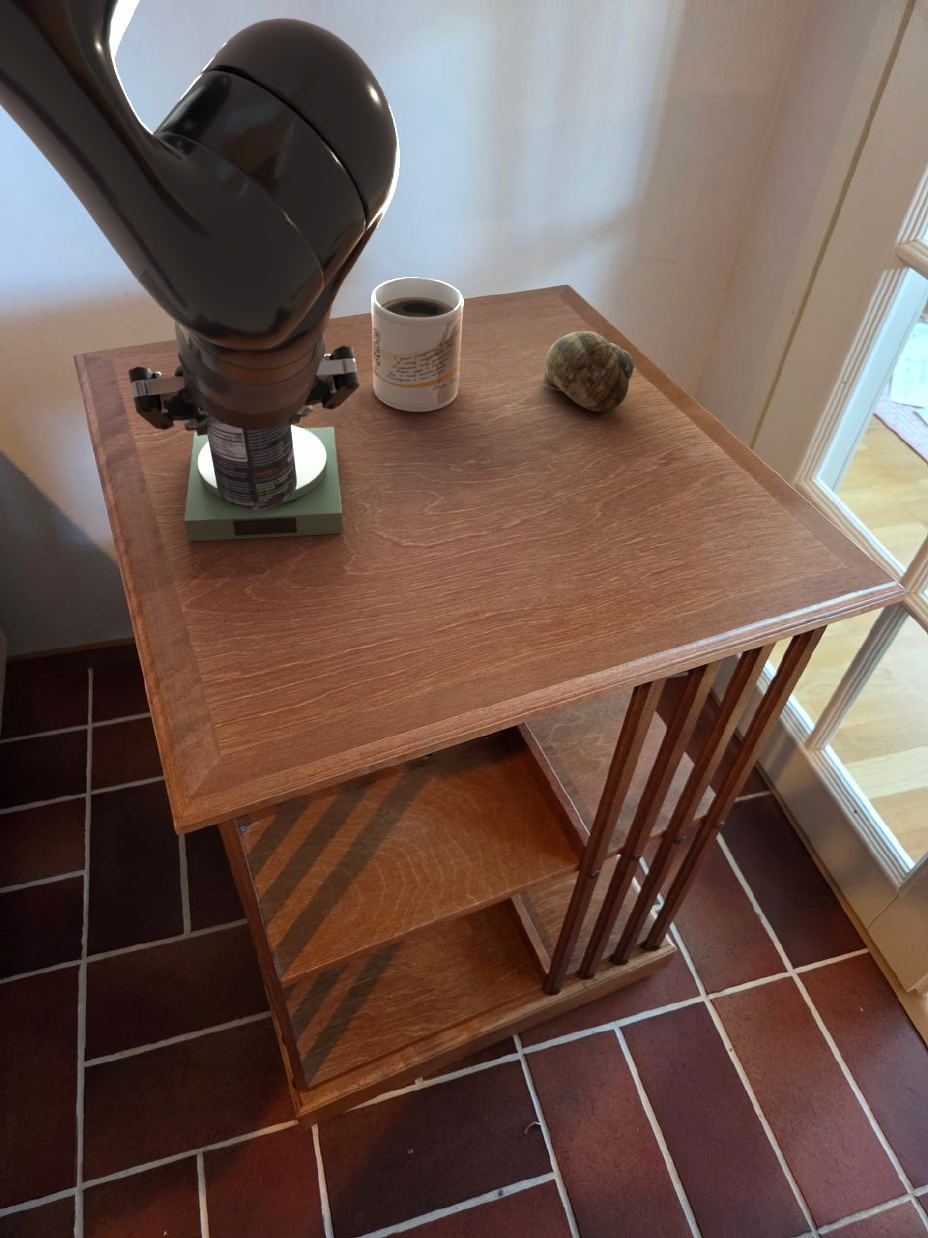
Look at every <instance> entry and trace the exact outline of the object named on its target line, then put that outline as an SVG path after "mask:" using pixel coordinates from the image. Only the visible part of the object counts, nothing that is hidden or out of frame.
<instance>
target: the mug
mask: <svg viewBox="0 0 928 1238" xmlns="http://www.w3.org/2000/svg"><path fill="white" fill-rule="evenodd" d="M463 316H464V297H463V295H462V293H461V292H460V291H459V290H458V289H457V288H455V287H454V286H452V285H451V284H449V283H446V282H444V281H441V280H437V279H432V278H427V277H401V278H395V279H392V280H388V281H385V282H383V283H381V284H379V285H378V286H377V287H375V289H374V290H373V292H372V294H371V337H372V338H371V339H372V341H371V342H372V345H371V346H372V389H373V393H374V394H375V396H376V397H377V398H378V400H379V401H380V402H382V403H383V404H385V405H387V406H389V407H390V408H391V407H392V408H393V409H396V410H399V411H400V410H401V411H405V412H411V413H420V412H421V413H423V412H432V411H437V410H439V409H442V408H444V407H447V406H448V405H450V404H451V403H452V402H453V401H454V400H455V399H456V397H457V395H458V392H459V382H460V381H459V380H460V367H461V366H460V363H461V351H462V350H461V348H462V332H463Z"/></svg>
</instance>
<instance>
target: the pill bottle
mask: <svg viewBox="0 0 928 1238" xmlns="http://www.w3.org/2000/svg"><path fill="white" fill-rule="evenodd" d="M291 425H292V424H291V420H290V418H289V419H288V420H286V421H285V422H283V423H281V424H279V425H276V426H273V427H270V428H266V429H258V430H248V429H240V428H236V427H232V426H229V425H227V424H224V423H222V422H220V423H218V424H206V429H207V436H208V442H209V447H210V452H211V457H212V462H213V467H214V473H215V478H216V483H217V489H218V492H219V494H220V496H221V497H222V498H223V499H224V500H225V501H226V502H227V503H229V504H231V505H233V506H236V507H239V508H243V509H251V510H255V509H266V508H270V507H274V506H276V505H279V504H281V503H283V502H284V501H286V500H287V499H289V498H290V496H291V495H292V494H293V493H294V491H295V489H296V486H297V476H296V467H295V457H294V448H293V439H292V430H291Z"/></svg>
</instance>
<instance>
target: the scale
mask: <svg viewBox="0 0 928 1238" xmlns="http://www.w3.org/2000/svg"><path fill="white" fill-rule="evenodd" d="M291 430H292V439H293V448H294V457H295V467H296V476H297V486H296V489H295V491H294V493H293V494H292V495H291V496H290V498H289V499H287V500H286V501H284V502H283V503H281V504H279V505H276V506H274V507H270V508H266V509H255V510H251V509H243V508H239V507H236V506H233V505H231V504H229V503H227V502H226V501H225V500H224V499H223V498H222V497H221V496H220V494H219V492H218V489H217V483H216V478H215V473H214V467H213V462H212V457H211V452H210V447H209V442H208V436H207V435H201V436H197V431H194V432H193V438H192V447H191V455H190V466H189V474H188V475H189V476H188V482H187V489H186V490H187V492H186V499H185V500H186V501H185V510H184V516H183V517H184V518H183V522H184V527H185V531H186V535H187V540H188V542H191V543H192V542H193V543H195V542H210V541H211V542H212V541H213V542H214V541H228V540H229V541H231V540H246V539H247V540H248V539H265V538H283V537H285V538H286V537H300V536H301V537H303V536H322V535H323V536H324V535H337V534H338V535H339V534H344V527H343V512H342V511H343V510H342V499H341V488H340V487H341V486H340V477H339V476H340V475H339V465H338V455H337V453H338V452H337V442H336V430H335V427H334V426H329V427H327V426H326V427H325V426H324V427H302V428H301V427H298V426H295V425H293V424H291Z"/></svg>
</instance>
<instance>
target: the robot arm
mask: <svg viewBox="0 0 928 1238" xmlns="http://www.w3.org/2000/svg"><path fill="white" fill-rule="evenodd" d="M139 1H140V0H0V107H1V108H2V109H3V110H4V111H5V112H6V114H8V116H9V117H10V118H11V119H12V120H13V121H14V122H15V124H16V125H18V127H19V128H20V129H21V130H22V131H23V133H24V134H25V135H26V137H28V138H29V140H30V141H31V142H32V144H34V145H35V146H36V148H37V150H39V152H40V153H41V154H42V155H43V156H44V158H45V159H46V160H47V161H48V162H49V164H50V165H51V166H52V167H53V168H54V170H55V171H56V172H57V173H58V175H60V177H61V178H62V180H63V181H64V182H65V184H66V186H68V188H69V189H70V190H71V192H72V193H73V194H74V195H75V197H76V198H77V200H78V201H79V203H81V205H82V206H83V208H84V209H85V210H86V212H87V213H88V215H89V216H90V218H91V219H92V220H93V222H94V223H95V224H96V226H97V227H98V228H99V230H100V232H101V233H102V235H103V236H104V238H105V239H106V240H107V241H108V243H109V244H110V245H111V247H112V248H113V250H114V251H115V252H116V254H117V255H118V256H119V259H121V261H122V262H123V263H124V265H125V266H126V267H127V269H128V270H129V272H130V273H131V274H132V276H133V277H134V278H135V280H136V281H137V282H138V283H139V284H140V285H141V287H142V289H144V291H145V292H146V293H147V294H148V295H149V297H150V298H151V299H152V300H153V302H154V303H155V304H156V305H157V306H158V307H159V308H160V309H161V310H162V311H163V312H164V313H165V314H166V315H168V317H170V318H171V319H172V320H173V321H174V322H173V323H174V334H175V341H176V346H177V358H178V361H179V363H180V365H178V366H177V367H176V369H175V371H174V375H173V376H165V377H162V373H161V372H160V371H154V372H153V371H152V370H151V369H150V368H148V367H143V366H135V367H133V368H131V369H128V377H129V381H130V388H131V392H132V393H131V394H132V397H133V402H134V407H135V412H136V413H137V415H140V416H141V418H143V419H144V420H145V421H146V422H147V423H148V424H150V425H151V426H152V427H153V428H155V429H157V430H161V431H166V430H169V429H171V428H173V427H175V424H174V421H175V422H176V421H177V422H178V421H179V422H182V425H183V427H184V429H185V430H186V431H189V432H191V431H195V432H197V436H201V435H207V429H206V424H218V423H220V422H222V423H224V424H227V425H229V426H232V427H236V428H240V429H248V430H258V429H266V428H270V427H273V426H276V425H279V424H281V423H283V422H285V421H286V420H288V419H289V418H290V420H291V425H296V424H300V421H301V418H304V417H305V418H306V416H309V414H310V413H313V412H314V406H315V405H318V404H321V406H322V409H324V410H325V409H326V410H335V409H336V408H338V407H340V406H341V405H342V404H343V403H344V402H345V401H346V400H347V399H348V398H349V397H350V396H352V394H353V393H354V392H355V391H356V390H358V389H359V387H360V380H359V376H358V370H357V363H356V359H355V353H354V348H353V347H352V346H347V345H341V346H339V347H337V348H335V349H333V351H332V352H331V354H330V353H327V354H325V352H326V335H327V334H326V332H327V329H328V325H329V322H330V319H331V314H332V311H333V305H334V303H335V300H336V297H337V296H338V294H339V292H340V290H341V287H342V285H343V284H344V282H345V280H346V278H347V277H348V276H349V274H350V273H351V271H352V269H353V268H354V266H355V265H356V263H357V261H358V259H359V258H360V257H361V255H362V253H363V251H364V250H365V248H366V246H367V245H368V243H369V242H370V240H371V238H372V236H373V234H374V233H375V231H376V230H377V228H378V226H379V224H380V222H381V221H382V219H383V217H384V215H385V213H386V212H387V209H388V207H389V205H390V203H391V200H392V199H393V195H394V193H395V190H396V186H397V181H398V176H399V168H400V146H399V138H398V133H397V127H396V123H395V119H394V115H393V112H392V110H391V106H390V103H389V101H388V99H387V96H386V95H385V92H384V90H383V89H382V86H381V85H380V83H379V81H378V79H377V78H376V76H375V74H374V73H373V71H372V69H370V67H369V66H368V64H367V63H366V62H365V60H364V59H363V58H362V56H360V55H359V54H358V53H357V52H356V50H355V49H353V48H352V46H350V45H349V44H348V43H347V42H346V41H344V40H343V39H341V37H339V36H338V35H336V34H334V33H333V32H331V31H330V30H328V29H326V28H324V27H321V26H319V25H317V24H314V23H311V22H309V21H305V20H300V19H296V18H290V17H289V18H288V17H281V18H280V17H279V18H271V19H265V20H264V19H263V20H261V21H258V22H257V21H256V22H254V23H253V24H251V25H249V26H246V27H245V28H243V29H241V30H239V31H238V32H236V34H234V35H233V36H232V37H231V38H229V40H227V41H226V42H225V43H224V44H223V45H222V46H221V47H220V49H219V50H218V51H217V52H216V54H215V55H214V56H213V57H212V58H211V60H210V61H209V62H208V64H206V66H205V67H204V68H203V70H201V72H200V74H199V75H198V77H197V78H196V79H195V80H194V81H193V83H192V84H191V85H190V86H189V88H187V90H186V92H185V93H184V94H183V95H182V96H181V98H180V99H179V100H178V102H176V104H175V105H174V106H173V108H172V109H171V110H170V111H169V113H167V115H166V116H165V118H164V119H163V121H162V122H160V124H159V126H158V127H156V129H155V130H154V131H153V133H152V131H151V130H149V128H148V127H147V126H146V125H145V124H144V123H143V122H142V121H141V119H140V117H139V116H138V114H137V112H136V111H135V110H134V108H133V106H132V103H131V101H130V99H129V98H128V96H127V94H126V92H125V90H124V87H123V84H122V82H121V78H120V76H119V74H118V70H117V68H116V63H115V56H116V52H117V50H118V46H119V44H120V41H121V39H122V36H123V34H124V32H125V30H126V28H127V26H128V24H129V22H130V21H131V18H132V16H133V14H134V11H135V9H136V7H137V5H138V3H139Z"/></svg>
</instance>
